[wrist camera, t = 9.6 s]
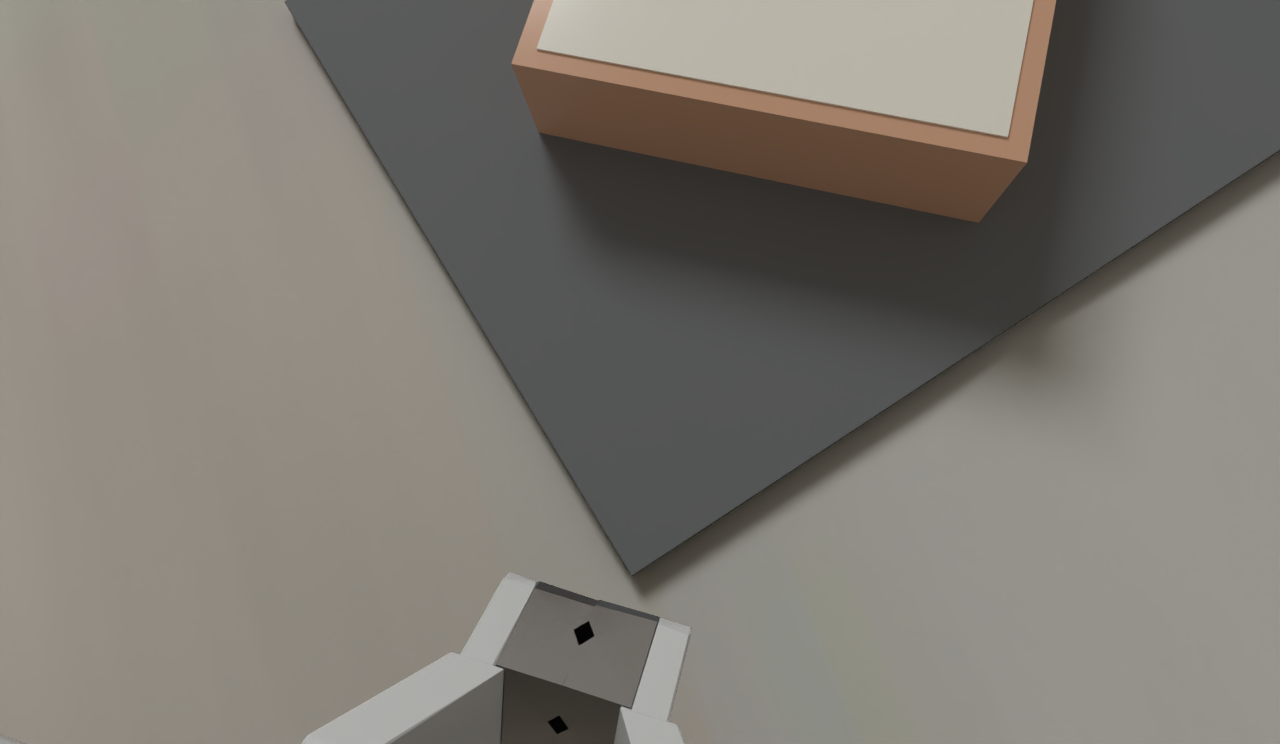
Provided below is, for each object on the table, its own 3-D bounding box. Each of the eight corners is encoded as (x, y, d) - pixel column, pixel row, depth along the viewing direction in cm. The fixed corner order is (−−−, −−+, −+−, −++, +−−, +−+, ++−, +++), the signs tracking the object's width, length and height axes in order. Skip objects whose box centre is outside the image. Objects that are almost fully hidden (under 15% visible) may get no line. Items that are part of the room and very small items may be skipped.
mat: (633, 575, 18) (631, 576, 18) (291, 11, 23) (284, 1, 23) (1405, 67, 19) (1419, 57, 19) (924, -360, 25) (927, -376, 24)
